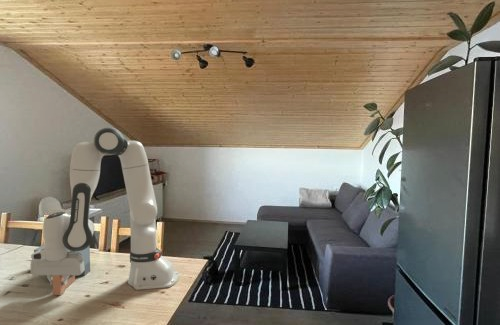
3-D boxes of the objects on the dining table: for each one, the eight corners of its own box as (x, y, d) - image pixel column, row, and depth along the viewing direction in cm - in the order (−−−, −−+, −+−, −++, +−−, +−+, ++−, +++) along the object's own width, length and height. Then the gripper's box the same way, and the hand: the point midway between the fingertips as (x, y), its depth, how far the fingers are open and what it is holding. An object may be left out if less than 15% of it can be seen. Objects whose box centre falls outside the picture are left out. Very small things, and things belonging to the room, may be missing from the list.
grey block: (90, 270, 144) (89, 240, 143) (76, 283, 132) (74, 250, 131) (53, 270, 144) (51, 240, 143) (35, 282, 132) (33, 250, 131)
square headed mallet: (77, 280, 134) (76, 260, 133) (60, 294, 122) (59, 273, 121) (70, 280, 134) (70, 260, 133) (53, 294, 122) (52, 273, 121)
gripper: (87, 249, 125) (88, 280, 126) (37, 249, 124) (39, 280, 126) (78, 255, 119) (80, 288, 120) (26, 255, 118) (28, 288, 119)
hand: (58, 284), depth 123 cm, fingers closed on square headed mallet, 3 cm apart
